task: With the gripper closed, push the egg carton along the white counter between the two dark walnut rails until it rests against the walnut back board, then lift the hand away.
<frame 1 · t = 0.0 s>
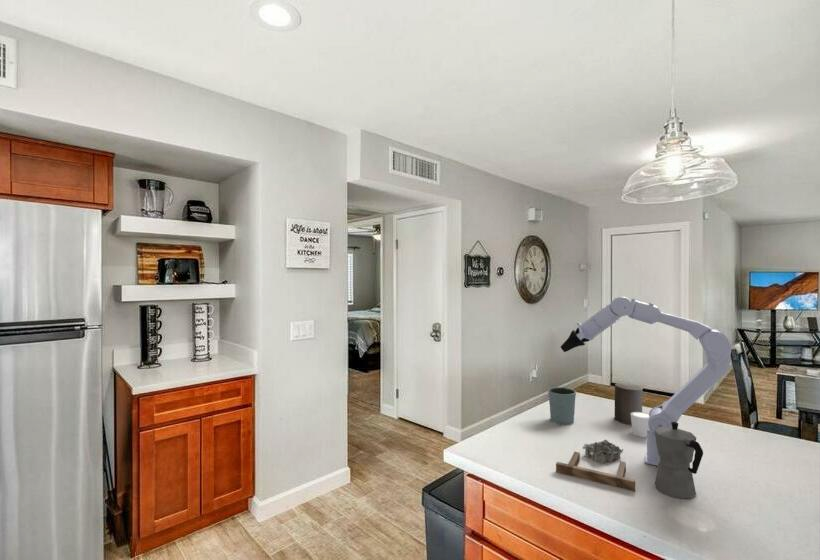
hand: (564, 347, 138), 32 cm above the worktop, tool tilted 50°, fingers open, 7 cm apart
walnut bay: (596, 472, 117), on the worktop
coffeepot: (677, 493, 106), on the worktop
egg carton: (602, 457, 128), on the worktop
shot glass: (641, 434, 146), on the worktop
pillar candle: (628, 421, 159), on the worktop
teal grey cup: (561, 421, 159), on the worktop
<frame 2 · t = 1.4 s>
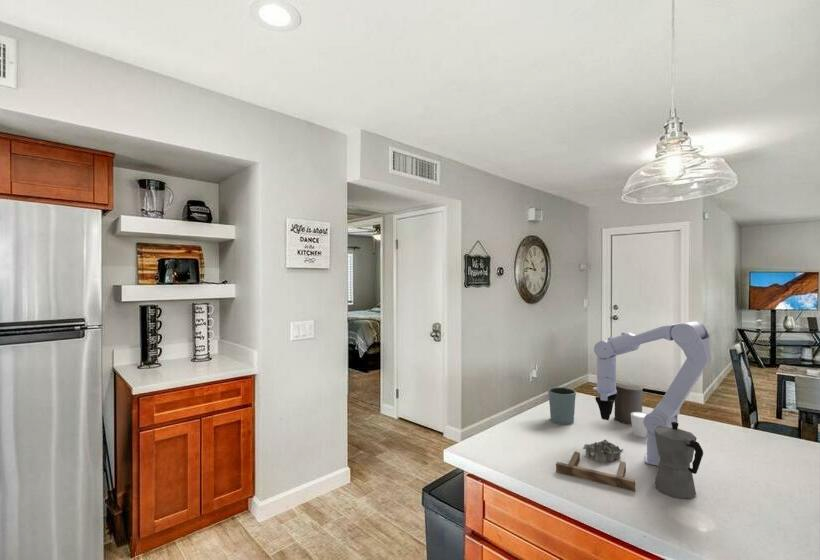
hand: (606, 416, 137), 9 cm above the worktop, tool pointing down, fingers open, 6 cm apart
nothing on the worktop moved.
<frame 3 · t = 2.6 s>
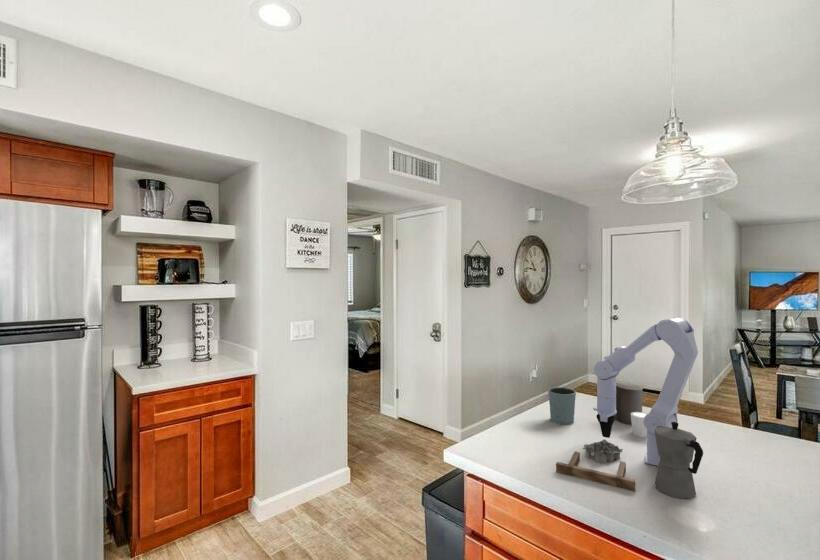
hand: (606, 436, 137), 3 cm above the worktop, tool pointing down, fingers closed
nothing on the worktop moved.
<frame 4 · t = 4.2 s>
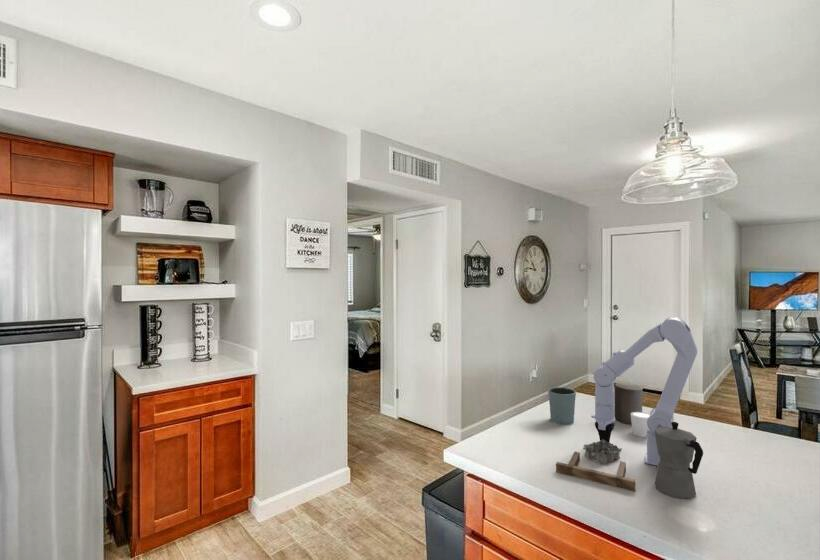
hand: (604, 445, 133), 1 cm above the worktop, tool pointing down, fingers closed
egg carton: (602, 457, 127), on the worktop, touching gripper
everything else where it was.
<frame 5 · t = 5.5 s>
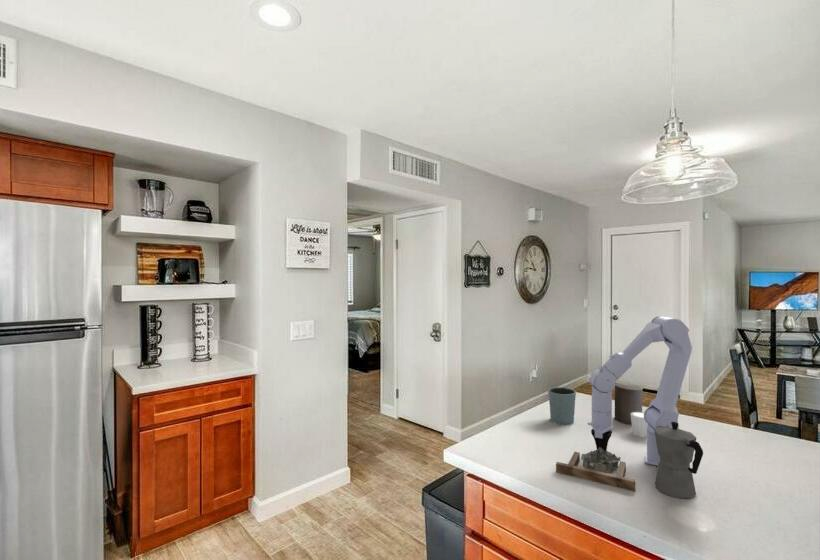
hand: (601, 453, 126), 1 cm above the worktop, tool pointing down, fingers closed
egg carton: (600, 467, 121), on the worktop, touching gripper
everything else where it was.
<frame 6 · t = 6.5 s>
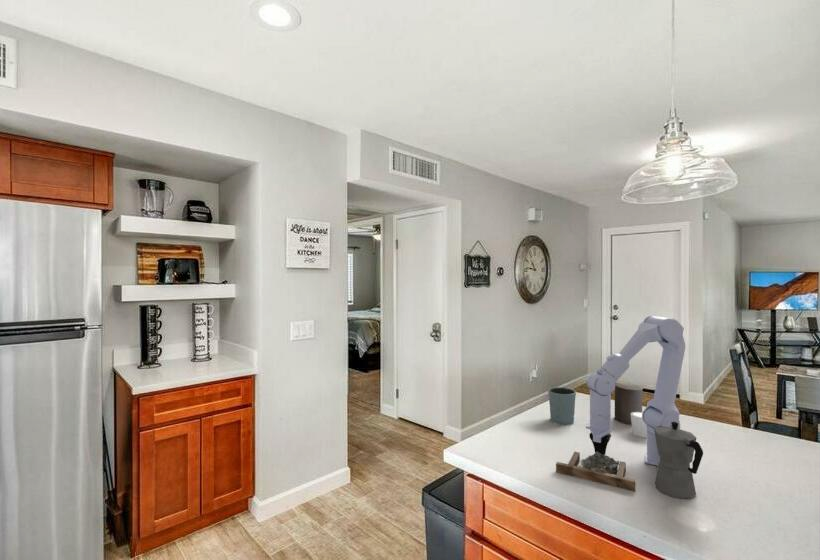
hand: (600, 457, 123), 1 cm above the worktop, tool pointing down, fingers closed
egg carton: (599, 472, 118), on the worktop, touching gripper, walnut bay
everything else where it was.
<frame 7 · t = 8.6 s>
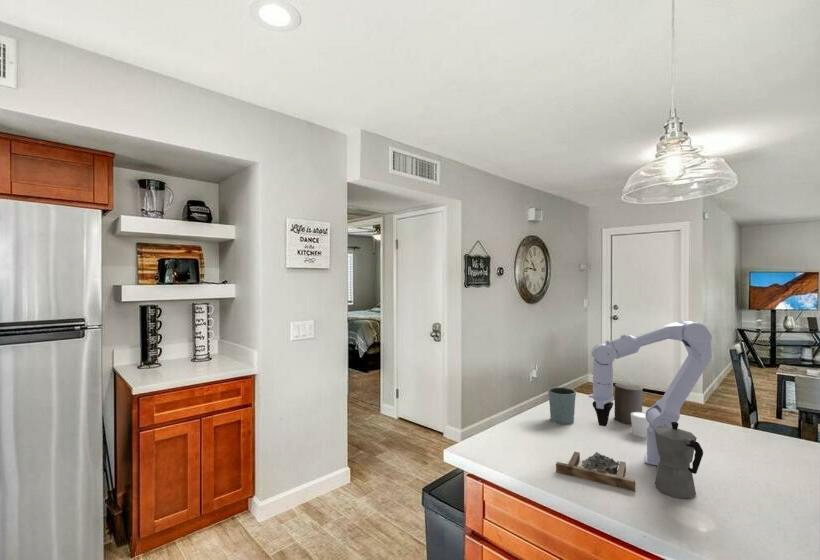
hand: (602, 425, 129), 9 cm above the worktop, tool pointing down, fingers closed
egg carton: (600, 473, 118), on the worktop
everything else where it was.
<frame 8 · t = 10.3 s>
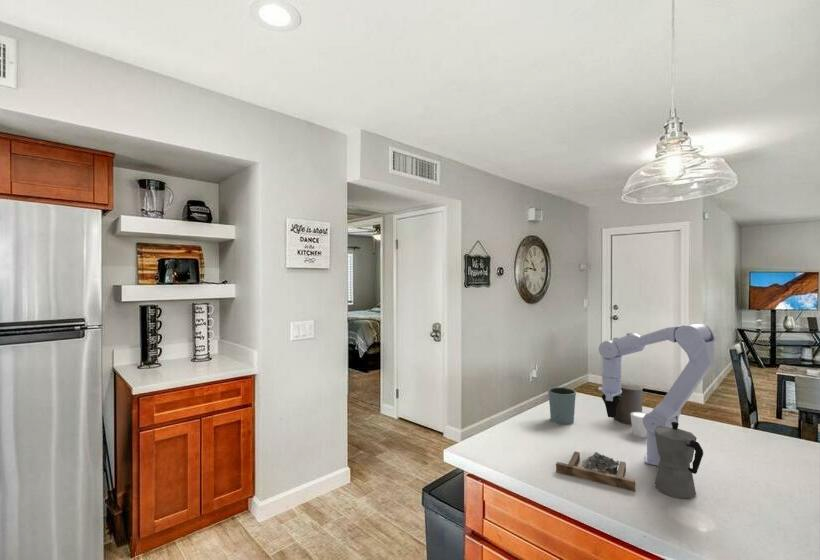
hand: (611, 417, 136), 9 cm above the worktop, tool pointing down, fingers closed
nothing on the worktop moved.
at the end: egg carton 0.8 cm from the target spot, on the worktop; egg carton moved 11.6 cm from its start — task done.
